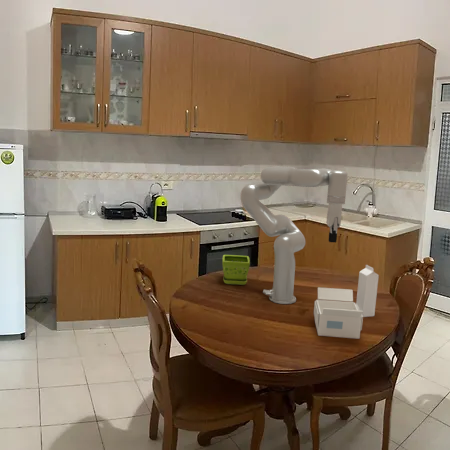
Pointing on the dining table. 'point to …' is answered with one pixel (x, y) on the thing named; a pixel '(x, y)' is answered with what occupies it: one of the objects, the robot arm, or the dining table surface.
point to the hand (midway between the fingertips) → (332, 241)
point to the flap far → (335, 294)
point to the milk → (367, 291)
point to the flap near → (342, 312)
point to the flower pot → (230, 269)
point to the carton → (337, 320)
